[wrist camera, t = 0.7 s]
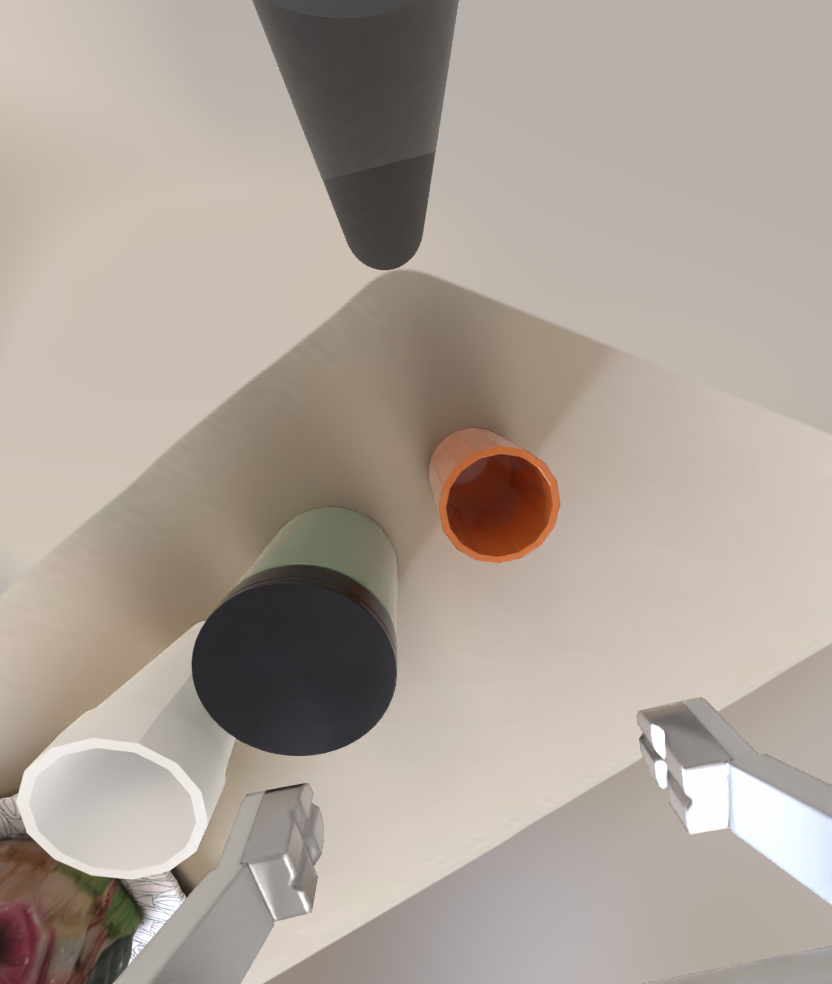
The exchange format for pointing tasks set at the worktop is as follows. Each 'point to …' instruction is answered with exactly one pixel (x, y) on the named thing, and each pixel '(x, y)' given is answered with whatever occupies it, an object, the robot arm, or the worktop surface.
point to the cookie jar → (71, 913)
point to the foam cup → (131, 775)
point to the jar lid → (296, 661)
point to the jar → (337, 551)
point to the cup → (492, 495)
